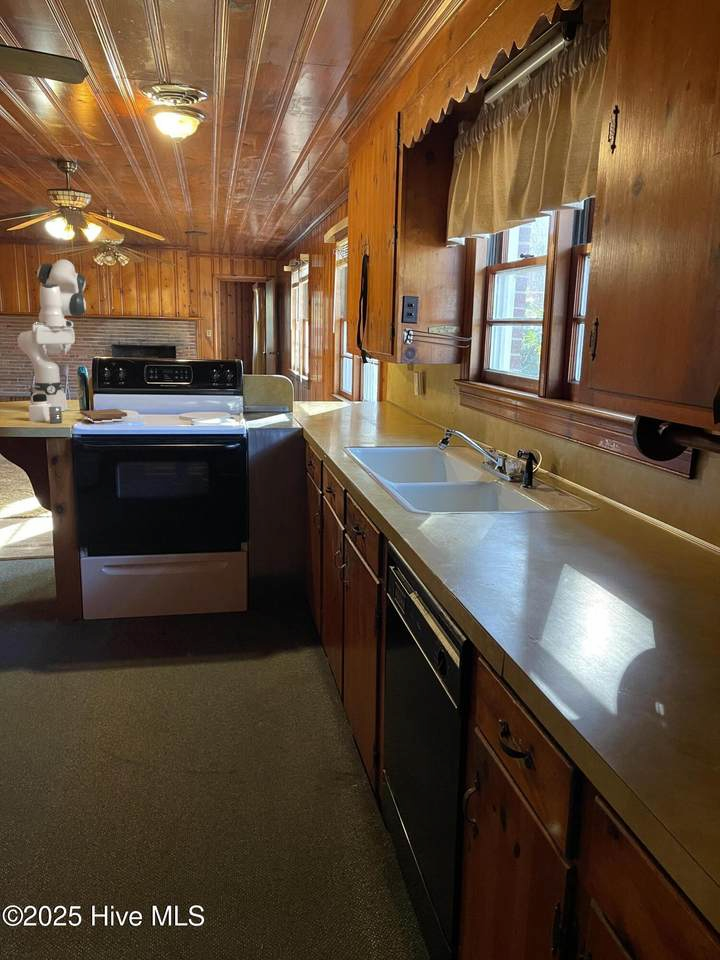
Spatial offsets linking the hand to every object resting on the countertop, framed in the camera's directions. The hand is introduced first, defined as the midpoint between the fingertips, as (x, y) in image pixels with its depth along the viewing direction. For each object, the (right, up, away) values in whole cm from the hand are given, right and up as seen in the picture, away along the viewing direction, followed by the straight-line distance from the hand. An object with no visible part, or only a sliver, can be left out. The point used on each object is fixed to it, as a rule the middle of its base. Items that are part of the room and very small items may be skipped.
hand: (54, 354), depth 309 cm
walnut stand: (+17, -28, +13) cm, 35 cm away
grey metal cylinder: (-1, -30, +5) cm, 30 cm away
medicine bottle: (-11, -28, +11) cm, 32 cm away
